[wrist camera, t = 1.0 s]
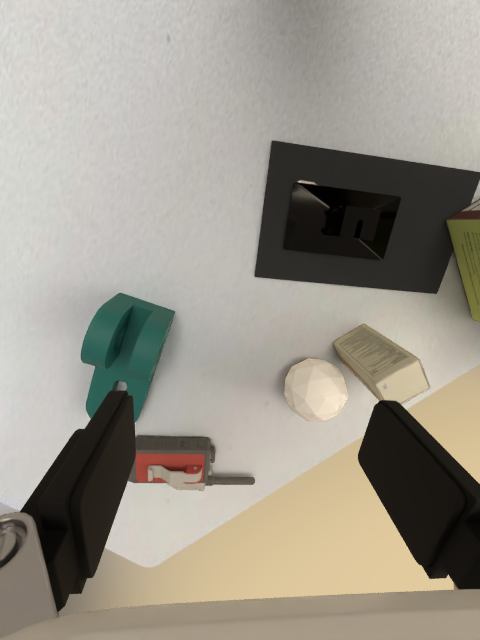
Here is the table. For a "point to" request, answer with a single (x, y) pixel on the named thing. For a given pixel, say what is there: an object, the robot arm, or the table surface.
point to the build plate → (339, 221)
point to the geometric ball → (315, 390)
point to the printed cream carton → (382, 365)
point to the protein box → (468, 252)
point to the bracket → (124, 348)
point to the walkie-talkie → (178, 463)
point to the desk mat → (376, 177)
